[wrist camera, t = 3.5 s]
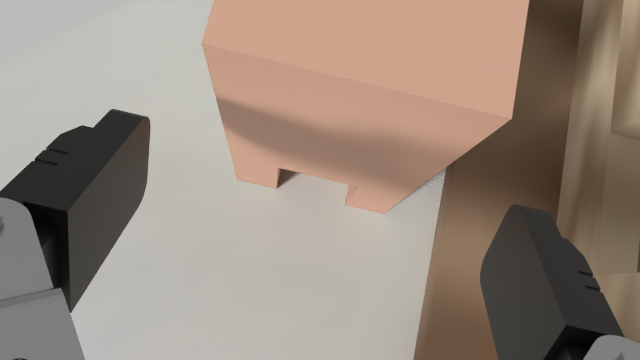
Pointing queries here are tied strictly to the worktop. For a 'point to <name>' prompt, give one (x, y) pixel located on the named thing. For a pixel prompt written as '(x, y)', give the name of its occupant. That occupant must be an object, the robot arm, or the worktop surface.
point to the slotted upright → (361, 87)
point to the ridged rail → (548, 172)
